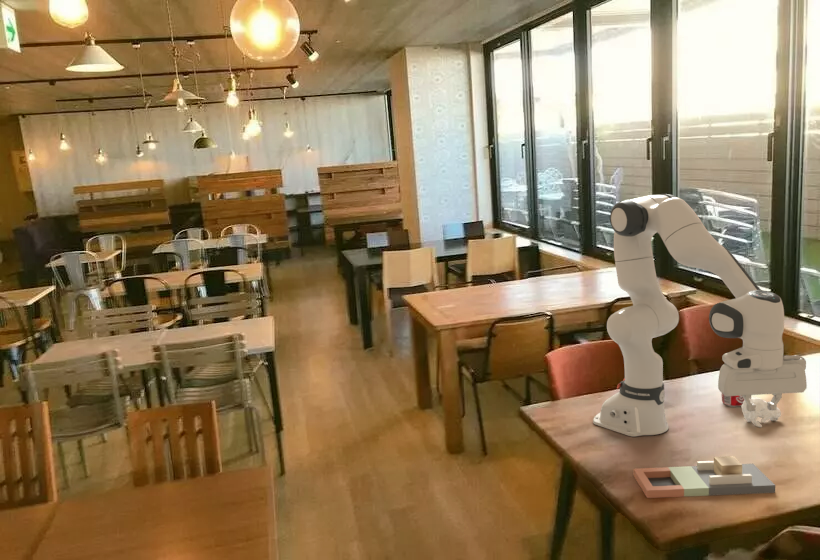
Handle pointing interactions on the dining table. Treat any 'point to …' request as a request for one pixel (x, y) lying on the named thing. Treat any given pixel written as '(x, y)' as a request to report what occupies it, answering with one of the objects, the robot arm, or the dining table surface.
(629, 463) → the dining table surface
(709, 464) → the channel walls
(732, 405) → the soda can
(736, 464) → the birch block
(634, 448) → the dining table surface
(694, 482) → the pad
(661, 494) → the board
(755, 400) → the white lumpy figurine
